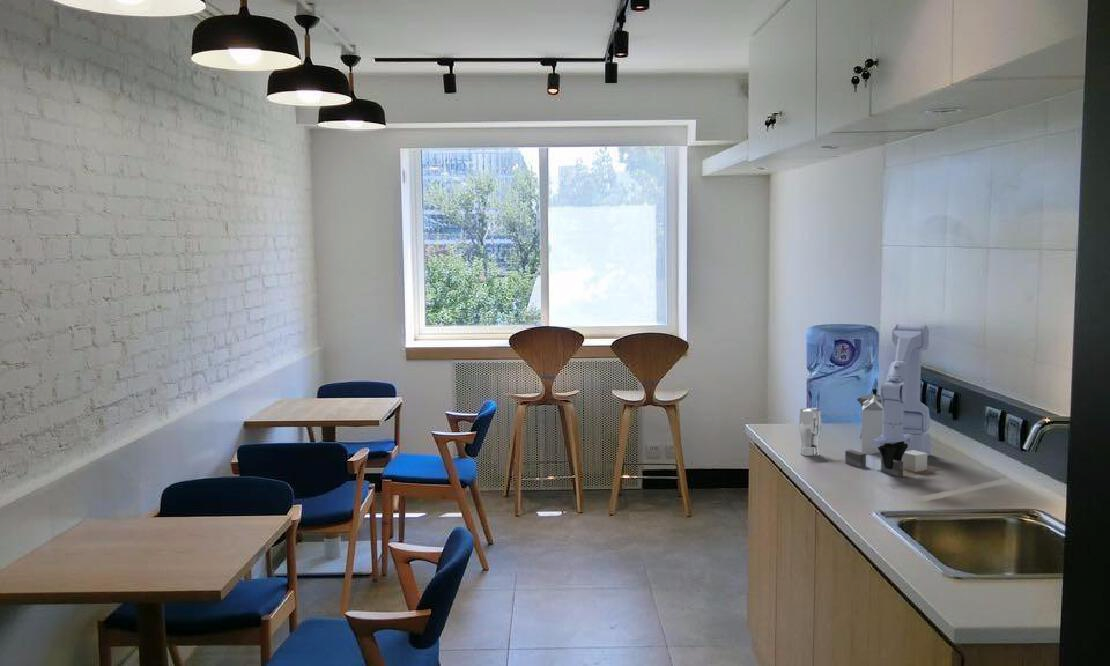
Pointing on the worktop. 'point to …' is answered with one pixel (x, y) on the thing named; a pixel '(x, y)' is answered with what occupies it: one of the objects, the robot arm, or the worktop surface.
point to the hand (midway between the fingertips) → (892, 467)
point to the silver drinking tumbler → (810, 431)
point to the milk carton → (871, 425)
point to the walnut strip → (904, 470)
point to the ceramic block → (914, 460)
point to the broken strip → (855, 458)
